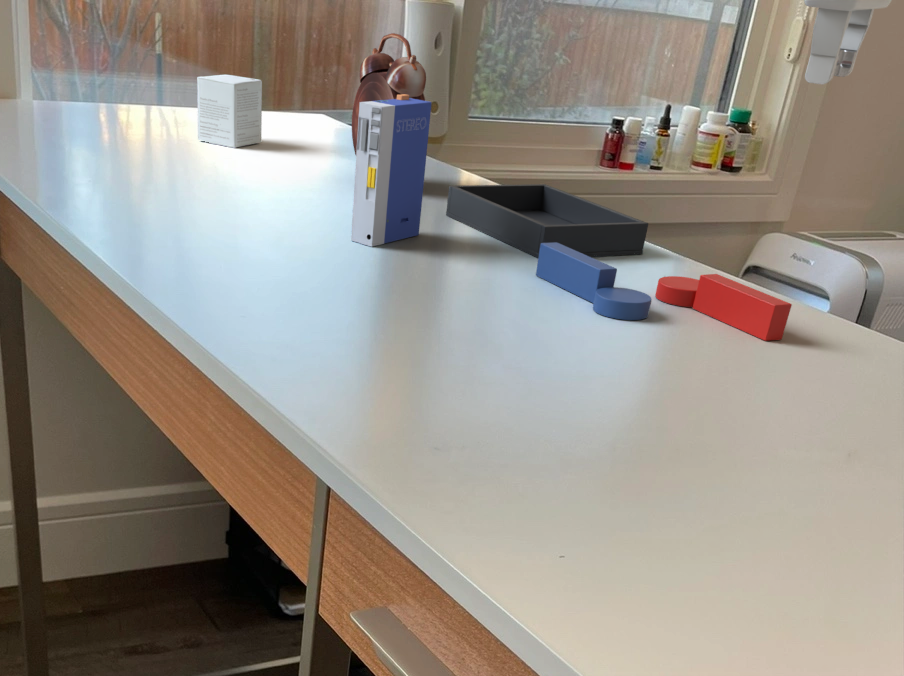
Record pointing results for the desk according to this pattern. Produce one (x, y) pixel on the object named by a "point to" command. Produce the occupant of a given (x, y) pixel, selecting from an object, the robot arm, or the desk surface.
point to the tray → (546, 219)
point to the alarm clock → (387, 79)
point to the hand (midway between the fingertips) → (827, 79)
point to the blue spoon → (591, 282)
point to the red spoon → (728, 303)
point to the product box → (229, 110)
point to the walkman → (389, 169)
